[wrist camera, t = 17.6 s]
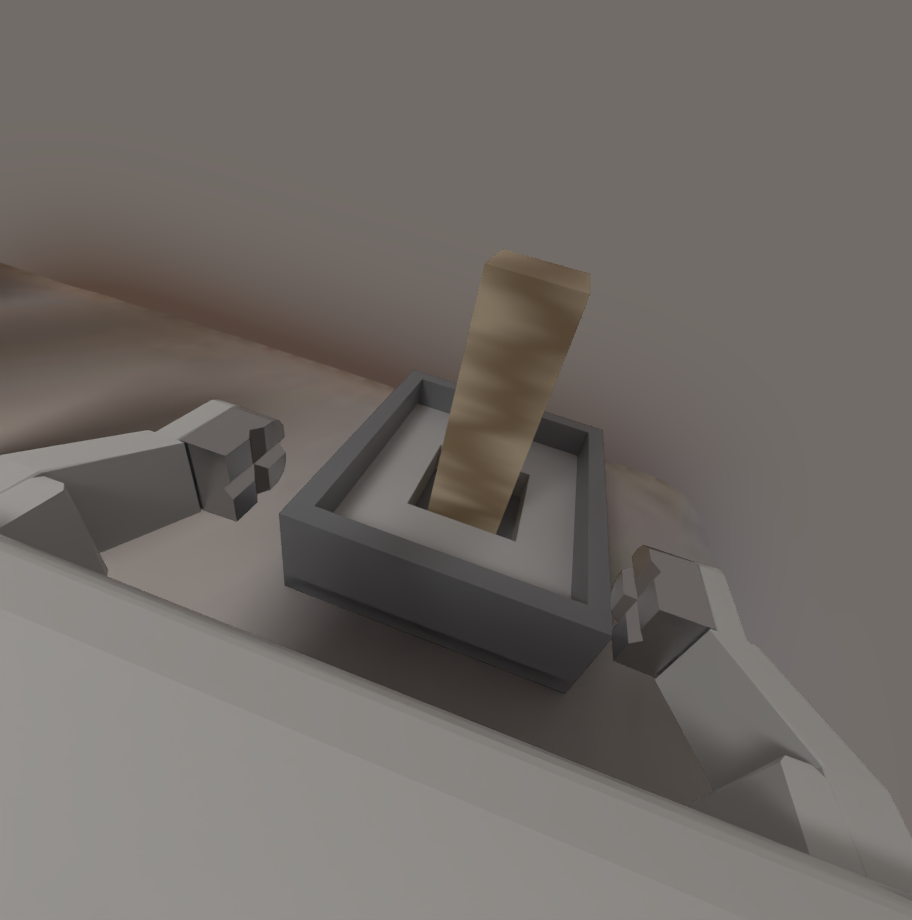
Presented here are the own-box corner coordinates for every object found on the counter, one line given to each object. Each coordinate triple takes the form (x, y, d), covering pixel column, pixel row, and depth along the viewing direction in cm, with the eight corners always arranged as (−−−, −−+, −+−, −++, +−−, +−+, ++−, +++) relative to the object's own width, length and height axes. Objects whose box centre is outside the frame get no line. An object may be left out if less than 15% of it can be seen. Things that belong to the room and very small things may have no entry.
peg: (424, 522, 23) (484, 263, 15) (444, 481, 27) (502, 249, 18) (491, 546, 23) (590, 293, 15) (502, 501, 26) (590, 273, 18)
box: (284, 585, 20) (279, 513, 17) (404, 426, 32) (413, 369, 29) (565, 693, 18) (613, 636, 15) (575, 483, 31) (602, 430, 28)
